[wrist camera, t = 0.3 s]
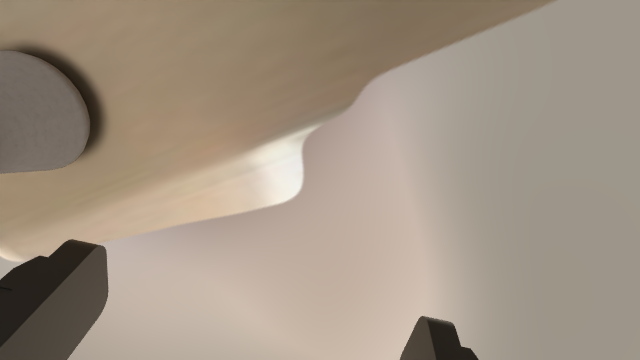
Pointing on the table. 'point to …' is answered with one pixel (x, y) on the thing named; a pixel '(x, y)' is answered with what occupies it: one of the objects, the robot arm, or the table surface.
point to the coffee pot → (38, 115)
